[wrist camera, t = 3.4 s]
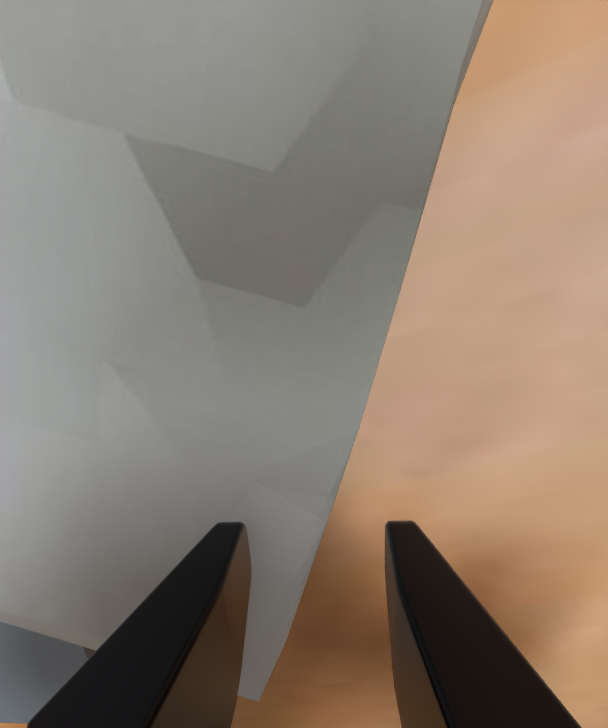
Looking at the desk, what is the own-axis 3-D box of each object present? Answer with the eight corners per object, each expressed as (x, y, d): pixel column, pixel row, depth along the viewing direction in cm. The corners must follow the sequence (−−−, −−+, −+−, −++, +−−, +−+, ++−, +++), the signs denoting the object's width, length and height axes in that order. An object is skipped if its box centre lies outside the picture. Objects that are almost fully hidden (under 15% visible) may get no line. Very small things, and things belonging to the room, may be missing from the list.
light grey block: (496, -73, 10) (12, -199, 10) (594, -240, 6) (-263, -459, 6) (291, 574, 18) (14, 496, 18) (264, 719, 13) (-105, 614, 13)
